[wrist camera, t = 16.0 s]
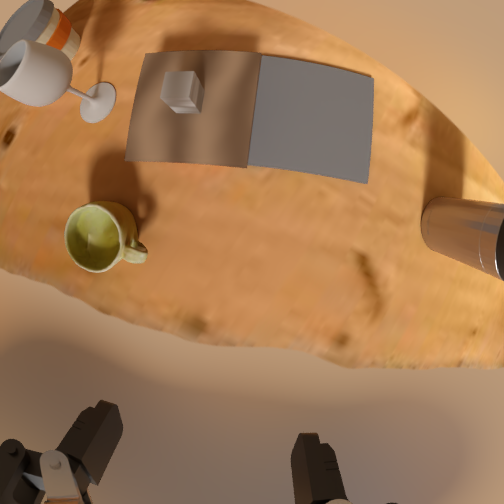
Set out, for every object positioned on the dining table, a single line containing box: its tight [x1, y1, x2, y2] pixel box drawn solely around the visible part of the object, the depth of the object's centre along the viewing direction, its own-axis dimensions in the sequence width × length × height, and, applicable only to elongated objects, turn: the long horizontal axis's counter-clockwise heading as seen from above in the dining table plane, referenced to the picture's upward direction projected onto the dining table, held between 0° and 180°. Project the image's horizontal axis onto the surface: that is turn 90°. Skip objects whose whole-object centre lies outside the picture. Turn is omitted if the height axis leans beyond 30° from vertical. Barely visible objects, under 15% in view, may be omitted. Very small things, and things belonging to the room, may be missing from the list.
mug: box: [64, 201, 148, 273], centre depth 35 cm, size 12×10×10 cm
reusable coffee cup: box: [0, 0, 80, 61], centre depth 23 cm, size 13×13×15 cm
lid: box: [125, 50, 261, 168], centre depth 25 cm, size 15×15×7 cm
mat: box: [248, 55, 374, 184], centre depth 34 cm, size 17×17×1 cm
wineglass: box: [0, 39, 116, 123], centre depth 23 cm, size 8×8×21 cm
